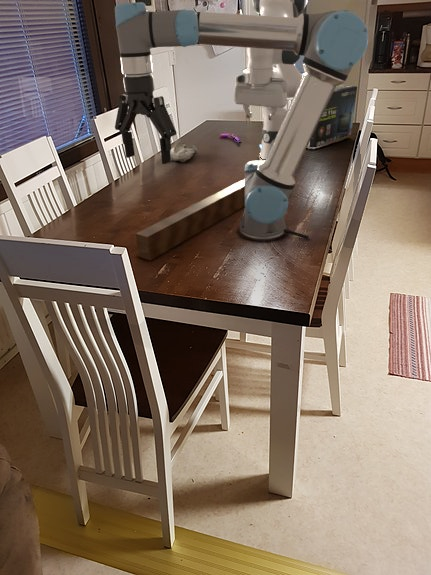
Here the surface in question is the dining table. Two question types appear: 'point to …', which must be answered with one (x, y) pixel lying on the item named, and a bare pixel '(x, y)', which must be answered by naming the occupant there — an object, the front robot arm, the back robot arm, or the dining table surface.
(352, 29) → the front robot arm
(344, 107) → the router box
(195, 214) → the bar
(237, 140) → the handgun
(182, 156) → the fossil
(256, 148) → the dining table surface
